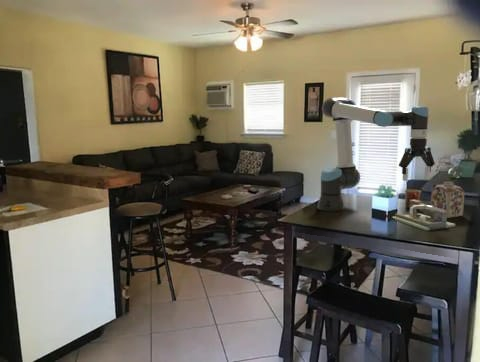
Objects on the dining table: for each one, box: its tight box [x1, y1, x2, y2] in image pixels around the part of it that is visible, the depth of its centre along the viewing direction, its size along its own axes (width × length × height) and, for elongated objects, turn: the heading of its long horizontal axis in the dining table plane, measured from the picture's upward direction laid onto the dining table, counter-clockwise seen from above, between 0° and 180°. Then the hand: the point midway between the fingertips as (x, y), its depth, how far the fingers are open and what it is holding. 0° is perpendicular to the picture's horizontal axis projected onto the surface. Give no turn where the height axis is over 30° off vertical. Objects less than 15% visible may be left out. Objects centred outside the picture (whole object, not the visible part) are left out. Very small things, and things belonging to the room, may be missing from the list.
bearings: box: [430, 211, 448, 222], centre depth 192 cm, size 7×3×6 cm, turn 20°
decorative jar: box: [429, 181, 465, 219], centre depth 208 cm, size 12×12×18 cm
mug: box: [404, 188, 422, 210], centre depth 224 cm, size 12×9×10 cm
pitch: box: [391, 211, 456, 231], centre depth 195 cm, size 23×18×3 cm
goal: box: [420, 218, 447, 231], centre depth 186 cm, size 6×10×3 cm, turn 110°
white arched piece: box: [409, 199, 446, 219], centre depth 197 cm, size 21×10×7 cm, turn 20°
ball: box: [419, 214, 426, 221], centre depth 192 cm, size 3×3×3 cm
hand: (416, 179), depth 196 cm, fingers open, 13 cm apart
